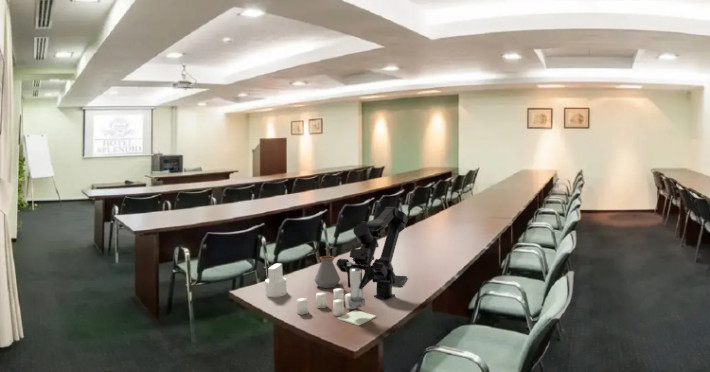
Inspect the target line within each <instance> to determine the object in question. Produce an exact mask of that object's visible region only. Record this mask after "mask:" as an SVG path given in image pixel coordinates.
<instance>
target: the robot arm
mask: <svg viewBox="0 0 710 372" xmlns="http://www.w3.org/2000/svg"><path fill="white" fill-rule="evenodd" d="M408 218H409V217H408V215H407V214H406V213H405V212H404V211H402V210H400V209H399V208H397V207H396V206H395V207H394V206H386V207H384V209H383V211H382V212H381V213H380V214H379V215H378V216H377V217H376V218H375V219H371V220H369V221H365V220H364V221H361V222H360V223H359V224H357V225H356V226H355V227H354V228H353V230H352V233H353V234H354V237H356V239H357V242H358V243H359V244H360V248H350V253H349V258H351V259H352V261H353V262H354V263H353V262H351V261H350V260H349V259H348V258H338V259H337V261H336V263H335V265H336V266H337V268H338V269H339V270H340V272H341V273H347V287H348V289H350V269H352V268H361V269H362V271H364V273H363V275H362V282H361V285H360V289H362V290H363V289H364V288H365V287H366V285H368V284H369V283H370V282H371V281H372V283H376V287H375V288H376V294H375V295H373V297H374V298H377V299H381V300H385V301H387V300H389V299H391V298H393V297H396V294H393V287H392V284H395V282H396V276H397V275H396V273H395V272H394V266H393V264H392V260H393V256H394V253H395V250H396V246H397V242H398V239H399V236H400V233H402V231H403V230H404V229H405V228H406V224H408ZM386 227H388V230H387V234H386V238H385V240H384V244H383V247H382V251H381V255H380V257H379V258H375V257H374V255H375V252H376V249H377V248H379V247H380V246H379V242H378V240H377V238H380V239H382V237H383V236H384V235H385V233H386V229H385V228H386ZM373 261H374V262H373Z"/></svg>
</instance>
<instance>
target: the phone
mask: <svg viewBox="0 0 710 372" xmlns="http://www.w3.org/2000/svg"><path fill="white" fill-rule="evenodd" d="M406 278H407V279H408V276H406V275H396V282H395V284H392V286H398V287H397V288H401V287H400V286H402V285H403V286H404V284H405V283H404V282H406V281H407V279H406ZM405 280H406V281H405ZM403 283H404V284H403ZM403 286H402V287H403Z"/></svg>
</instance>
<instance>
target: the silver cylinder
mask: <svg viewBox="0 0 710 372" xmlns="http://www.w3.org/2000/svg"><path fill="white" fill-rule="evenodd" d="M362 279H363V270H362V269H361V268H352V269H350V288H349V290H350V291H349V293H350V297H351V298H350V299H349V300H348V305H349V306H350V307H353V308H355V309H358V308H362V307H364V306H365V305H366V299H365V298H364V297H363V296H364V295H363V289H360V285H361V282H362Z"/></svg>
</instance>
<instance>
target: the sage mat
mask: <svg viewBox="0 0 710 372" xmlns="http://www.w3.org/2000/svg"><path fill="white" fill-rule="evenodd" d="M375 318H377V315H375V314H372V313H371V314H370V313H368V312H364V311H362V310H361V311H360V310H356V309H353V310H352V311H350V312H348V313H344V315H342V316H337V320H338V321H342V322H346V323H348V324H352V325H356V326H361V325H363V324H365V323H368V322H369V321H371V320H373V319H375Z"/></svg>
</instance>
